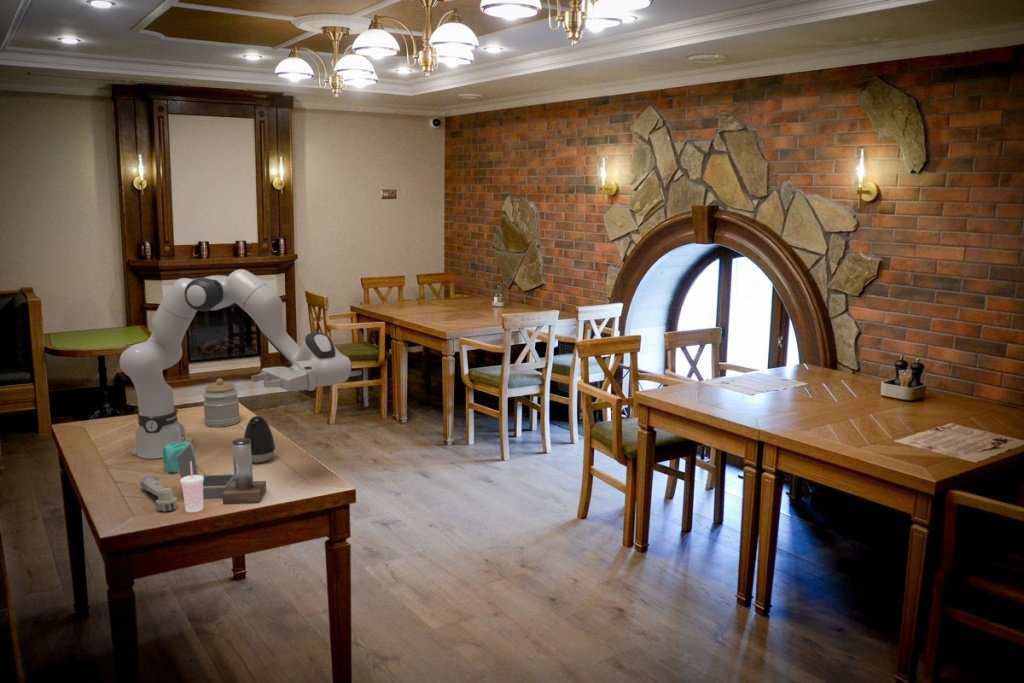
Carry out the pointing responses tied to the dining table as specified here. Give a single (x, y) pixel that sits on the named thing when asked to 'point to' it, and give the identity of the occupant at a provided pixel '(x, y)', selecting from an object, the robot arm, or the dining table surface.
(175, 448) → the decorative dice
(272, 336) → the robot arm
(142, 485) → the grey flashlight
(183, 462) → the equipment case
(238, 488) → the steel canister
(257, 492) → the walnut block
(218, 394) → the jar
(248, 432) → the black egg-shaped speaker
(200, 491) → the beverage cup
